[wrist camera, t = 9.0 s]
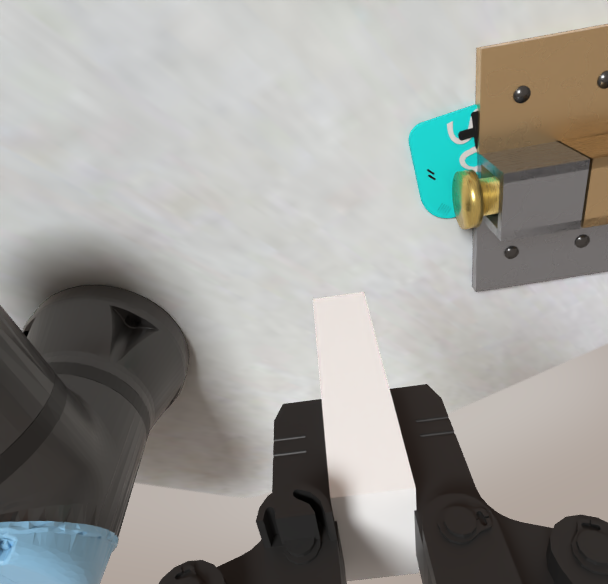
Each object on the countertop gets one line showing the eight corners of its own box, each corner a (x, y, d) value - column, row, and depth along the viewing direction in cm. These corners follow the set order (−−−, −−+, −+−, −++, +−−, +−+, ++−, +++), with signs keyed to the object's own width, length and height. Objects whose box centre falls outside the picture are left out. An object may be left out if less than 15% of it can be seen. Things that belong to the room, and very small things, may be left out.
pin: (452, 216, 40) (469, 238, 36) (451, 164, 38) (470, 182, 34) (702, 175, 39) (746, 194, 35) (717, 118, 37) (767, 133, 33)
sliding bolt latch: (472, 286, 45) (495, 322, 40) (476, 47, 35) (508, 56, 30) (672, 254, 44) (722, 287, 39) (739, -1, 34) (817, 0, 29)
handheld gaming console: (407, 129, 37) (612, 60, 35) (404, 126, 38) (604, 59, 36) (428, 226, 41) (611, 170, 39) (424, 222, 42) (604, 166, 40)
